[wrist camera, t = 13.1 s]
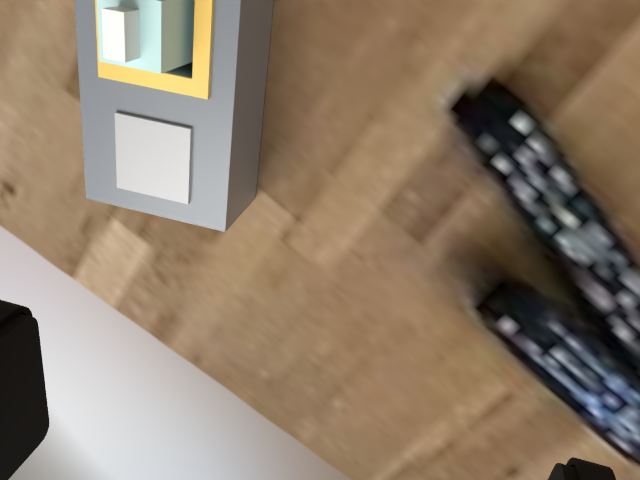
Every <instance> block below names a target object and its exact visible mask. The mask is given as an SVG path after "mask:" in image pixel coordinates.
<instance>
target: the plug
mask: <svg viewBox="0 0 640 480" xmlns="http://www.w3.org/2000/svg"><path fill="white" fill-rule="evenodd" d="M194 8H195V0H97V19H98V41H99V62H104V63H109V64H115V65H120V66H125V67H130V68H135V69H140V70H145V71H150V72H155V73H160V74H162V73H164V72H167V71H169V70H172V69H175V68H177V67H180V66H183V65H185V64H188V63H191V62H193V39H194Z"/></svg>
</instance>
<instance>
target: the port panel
mask: <svg viewBox="0 0 640 480" xmlns="http://www.w3.org/2000/svg"><path fill="white" fill-rule="evenodd" d="M273 5H274V0H195V8H194V39H193V62H191V63H188V64H185V65H183V66H180V67H177V68H175V69H172V70H169V71H167V72H164V73H162V74H160V73H155V72H150V71H145V70H140V69H135V68H130V67H125V66H120V65H115V64H109V63H104V62H99V41H98V19H97V0H75V17H76V34H77V51H78V68H79V85H80V102H81V119H82V136H83V153H84V170H85V187H86V199H90V200H95V201H99V202H103V203H107V204H111V205H115V206H120V207H124V208H128V209H132V210H136V211H140V212H145V213H149V214H153V215H157V216H161V217H165V218H170V219H174V220H178V221H182V222H186V223H190V224H194V225H199V226H203V227H207V228H211V229H215V230H219V231H224V232H225V231H226V230H227V229H228V228H229V227H230V226H231V225H232V224H233V223H234V221H235V220H236V219H237V218H238V217H239V216H240V215H241V214H242V213H243V211H244V210H245V209H246V208H247V207H248V206H249V205H250V204H251V203H252V201H253V200H254V199H255V198H256V188H257V177H258V166H259V155H260V145H261V134H262V123H263V112H264V102H265V91H266V80H267V69H268V58H269V48H270V37H271V26H272V15H273Z"/></svg>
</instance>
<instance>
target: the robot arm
mask: <svg viewBox="0 0 640 480" xmlns="http://www.w3.org/2000/svg"><path fill="white" fill-rule="evenodd" d="M48 428H49V416H48V407H47V398H46V390H45V381H44V373H43V363H42V355H41V346H40V337H39V329H38V323H37V320H36V319H35V318H34V317H32V313H31V311H30V309H29V308H27V307H24V306H20V305H17V304H13V303H10V302H6V301H2V300H0V480H8V479H9V478H10V477H11V476H12V475H13V474H14V472H15V471H16V470H17V469H18V468H19V467H20V466H21V465H22V463H23V462H24V461H25V460H26V459H27V458H28V457H29V456H30V455H31V453H32V452H33V451H34V450H35V449H36V448H37V447H38V446H39V444H40V443H41V442H42V441H43V439H44V438H45V436H46V433H47V431H48ZM548 480H616V478H615V475H614V473H613V470H612V469H611V468H610V467H606V466H603V465H599V464H596V463H592V462H588V461H585V460H581V459H577V458H571V459H569V461H568V462H567V464H566V465H564V464H561V463H557V464H556V465H555V466H554V468H553V470H552V472H551V474H550V477H549V479H548Z"/></svg>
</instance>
